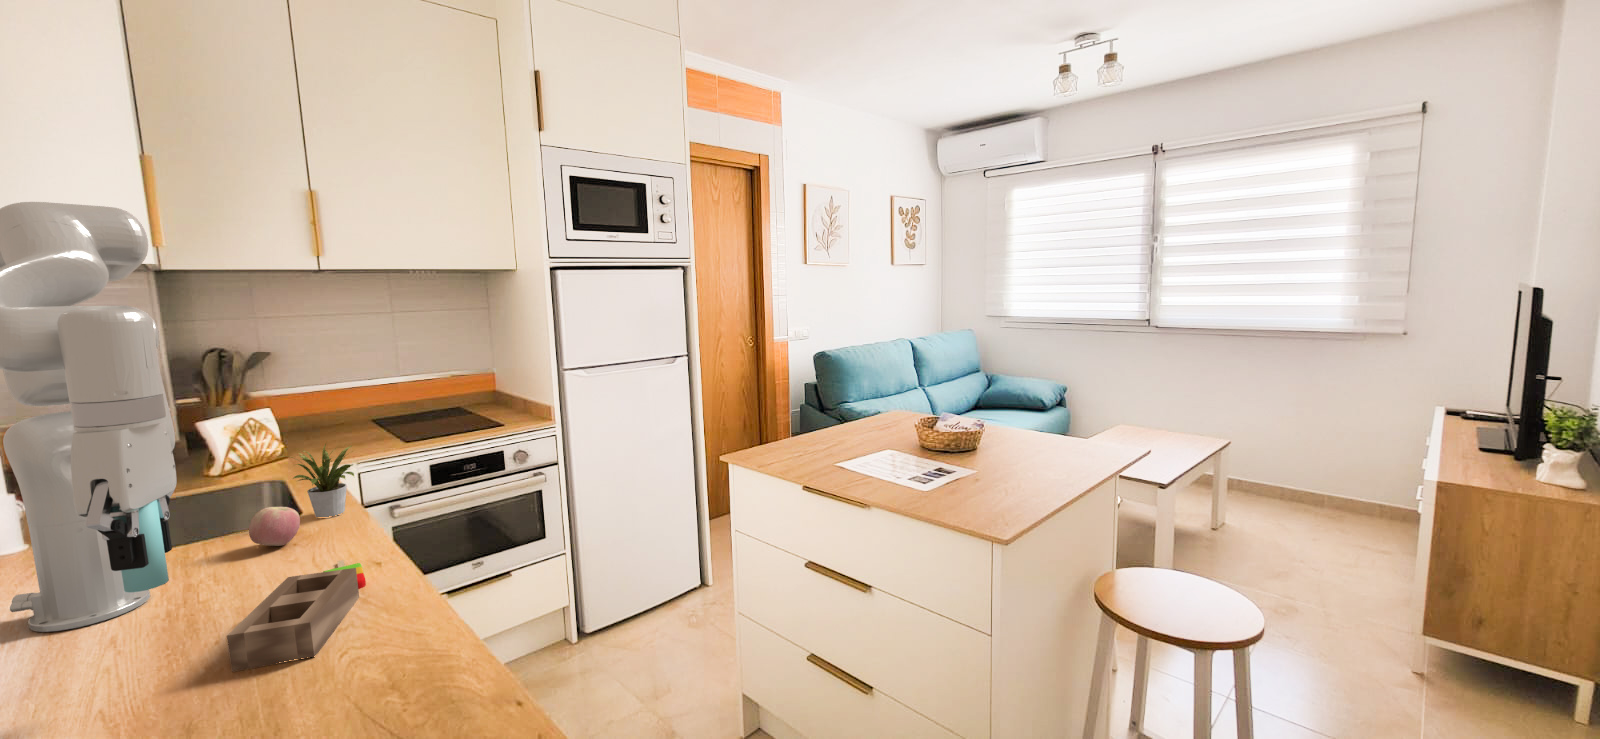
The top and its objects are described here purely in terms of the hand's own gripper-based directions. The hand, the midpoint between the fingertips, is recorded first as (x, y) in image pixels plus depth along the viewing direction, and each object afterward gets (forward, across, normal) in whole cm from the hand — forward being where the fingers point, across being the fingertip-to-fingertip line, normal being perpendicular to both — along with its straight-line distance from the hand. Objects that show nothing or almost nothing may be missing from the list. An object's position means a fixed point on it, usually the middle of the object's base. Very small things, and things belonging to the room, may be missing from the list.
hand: (142, 559), depth 77 cm
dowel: (+3, 0, 0) cm, 3 cm away
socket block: (+17, -10, +11) cm, 22 cm away
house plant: (+18, -67, -5) cm, 69 cm away
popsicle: (+18, -28, +11) cm, 35 cm away
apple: (+17, -50, -7) cm, 53 cm away
